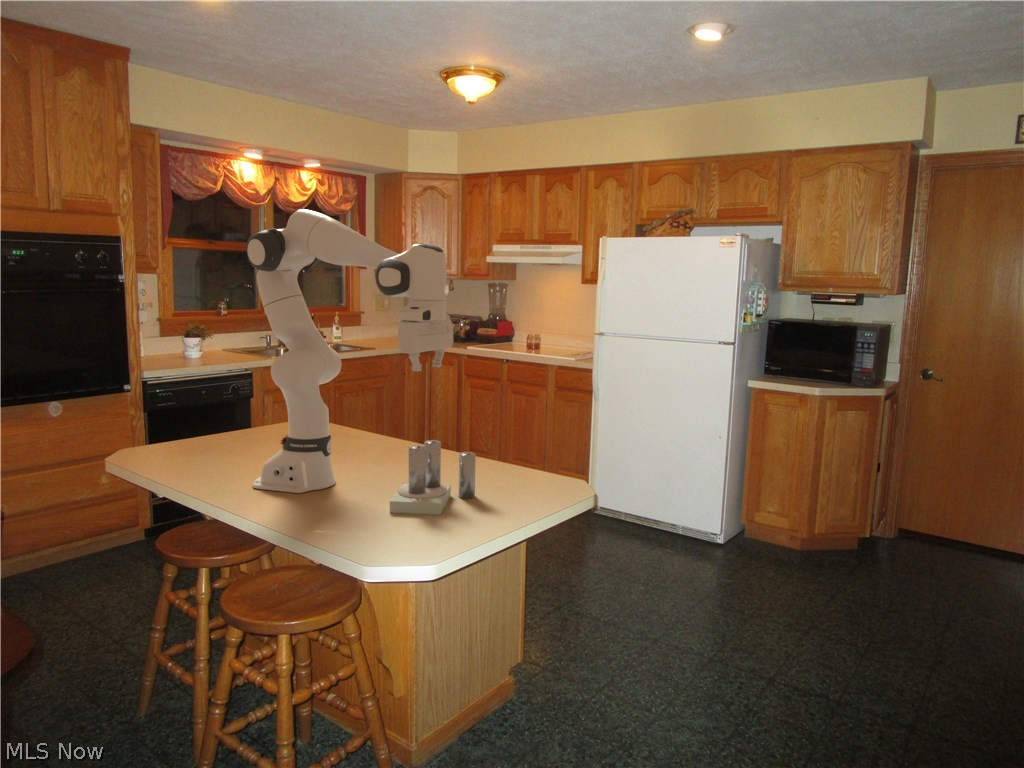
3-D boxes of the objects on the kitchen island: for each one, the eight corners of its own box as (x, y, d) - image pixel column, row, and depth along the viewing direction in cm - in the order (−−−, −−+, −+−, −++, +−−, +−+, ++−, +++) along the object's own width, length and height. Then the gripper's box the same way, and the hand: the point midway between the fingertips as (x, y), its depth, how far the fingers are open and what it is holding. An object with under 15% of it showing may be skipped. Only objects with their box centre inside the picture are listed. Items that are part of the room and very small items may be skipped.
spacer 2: (422, 487, 189) (422, 443, 188) (425, 482, 194) (426, 439, 192) (439, 488, 189) (439, 444, 187) (441, 483, 193) (442, 440, 192)
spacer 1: (406, 494, 183) (406, 448, 182) (410, 489, 188) (410, 444, 186) (423, 494, 183) (423, 449, 181) (426, 489, 187) (427, 445, 186)
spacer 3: (457, 498, 192) (458, 455, 191) (460, 493, 197) (460, 451, 195) (473, 499, 192) (474, 456, 190) (475, 494, 196) (476, 452, 195)
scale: (389, 512, 180) (389, 498, 179) (403, 493, 195) (403, 481, 195) (440, 514, 179) (440, 501, 178) (450, 495, 195) (450, 483, 194)
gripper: (438, 310, 182) (437, 363, 184) (393, 313, 164) (393, 372, 166) (459, 311, 180) (459, 365, 182) (416, 314, 161) (416, 374, 163)
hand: (427, 369), depth 173 cm, fingers open, 8 cm apart
